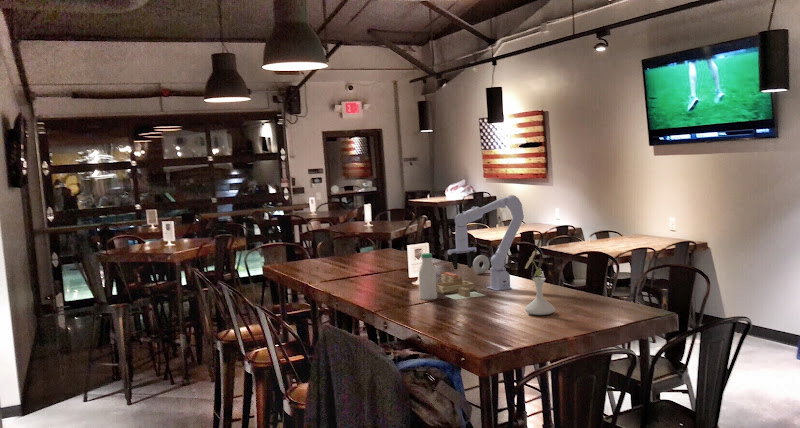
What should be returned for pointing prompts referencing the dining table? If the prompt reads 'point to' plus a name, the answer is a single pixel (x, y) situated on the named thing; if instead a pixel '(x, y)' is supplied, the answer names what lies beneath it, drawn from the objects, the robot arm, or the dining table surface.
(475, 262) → the donut
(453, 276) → the salmon orange bar
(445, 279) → the key channel
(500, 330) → the dining table surface
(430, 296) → the milk bottle
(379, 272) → the dining table surface
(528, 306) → the flower in vase
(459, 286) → the wooden box
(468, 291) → the pale green plate
